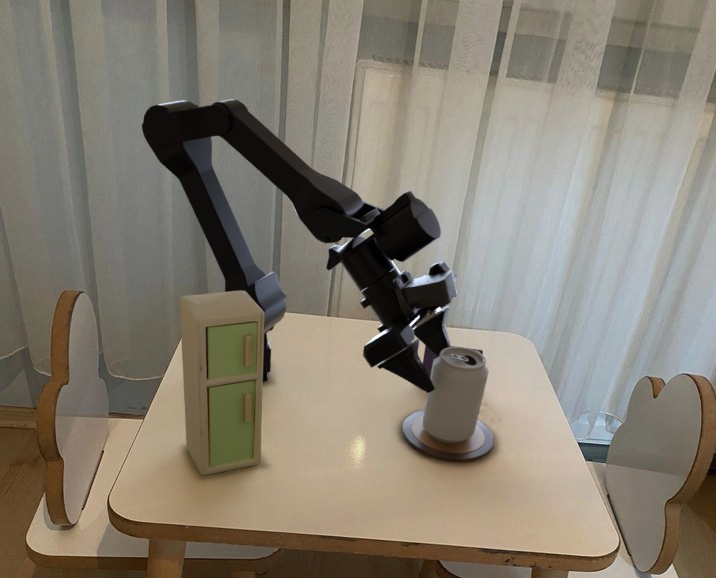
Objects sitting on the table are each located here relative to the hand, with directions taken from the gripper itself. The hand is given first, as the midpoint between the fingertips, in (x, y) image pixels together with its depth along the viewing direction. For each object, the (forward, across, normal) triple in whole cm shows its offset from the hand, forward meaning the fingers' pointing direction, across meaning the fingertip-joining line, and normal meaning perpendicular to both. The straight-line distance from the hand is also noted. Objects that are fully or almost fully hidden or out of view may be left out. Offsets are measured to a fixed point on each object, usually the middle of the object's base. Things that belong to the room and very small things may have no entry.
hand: (442, 377), depth 97 cm
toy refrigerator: (-8, -21, +21) cm, 31 cm away
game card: (+5, +15, +8) cm, 18 cm away
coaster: (+8, 0, +4) cm, 9 cm away
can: (+8, 0, +4) cm, 9 cm away
